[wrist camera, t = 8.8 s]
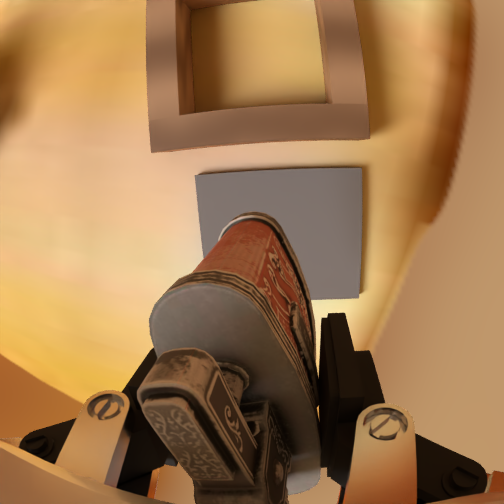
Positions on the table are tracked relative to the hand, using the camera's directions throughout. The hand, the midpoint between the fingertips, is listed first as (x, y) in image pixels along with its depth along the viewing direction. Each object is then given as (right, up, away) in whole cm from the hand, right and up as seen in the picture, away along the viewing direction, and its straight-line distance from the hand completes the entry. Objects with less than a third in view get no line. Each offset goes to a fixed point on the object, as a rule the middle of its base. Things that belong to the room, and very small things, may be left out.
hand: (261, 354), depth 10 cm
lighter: (+1, +1, +4) cm, 4 cm away
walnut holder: (0, +18, +10) cm, 20 cm away
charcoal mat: (+2, +5, +14) cm, 15 cm away
